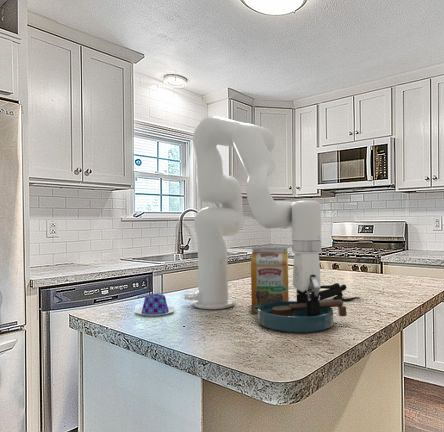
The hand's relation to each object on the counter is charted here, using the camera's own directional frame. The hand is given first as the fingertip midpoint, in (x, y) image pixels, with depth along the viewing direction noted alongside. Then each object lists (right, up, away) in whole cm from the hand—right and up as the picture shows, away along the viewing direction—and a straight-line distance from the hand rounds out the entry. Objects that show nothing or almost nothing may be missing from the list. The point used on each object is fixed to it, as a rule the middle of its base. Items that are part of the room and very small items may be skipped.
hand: (307, 312), depth 109 cm
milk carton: (-7, -3, +17) cm, 18 cm away
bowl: (-3, -3, 0) cm, 4 cm away
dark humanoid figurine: (+14, -3, +26) cm, 30 cm away
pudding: (-42, -4, +15) cm, 45 cm away
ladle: (0, -2, 0) cm, 2 cm away
